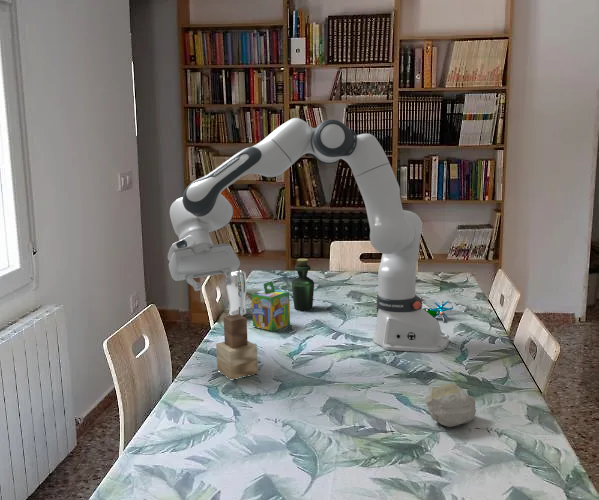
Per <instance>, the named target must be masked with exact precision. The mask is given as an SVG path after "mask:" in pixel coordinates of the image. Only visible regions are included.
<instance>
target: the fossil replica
mask: <svg viewBox="0 0 599 500" xmlns="http://www.w3.org/2000/svg"><path fill="white" fill-rule="evenodd" d="M424 400H425V404H426V406H427V408H428V411H429V416H430V418H431V419H432V420H433V421H435V422H437V423H438V424H440V425H442V426H445V427H448V428H453V427H457V426H460V425H462V424H463V425H464V424H468V423H470V422H472V421H473V419H474V417H475V416H476V412H477V409H476V400H475V398H474V397H473V396H472V395H471V396H470V395H468V394H466V393H465V391H463V390H462V389H461V387H460V386H459V385H458V384H455V383H446V384H442V385H440V386H432V387H431V388H429V389H428V392H427V394H426V395H425V399H424Z"/></svg>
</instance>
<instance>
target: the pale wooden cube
mask: <svg viewBox="0 0 599 500" xmlns="http://www.w3.org/2000/svg"><path fill="white" fill-rule="evenodd" d="M247 341H248V345H246V346H242V347H237V348H233V349H232V348H231V347H229V346H227V345H226V344H225V341H222V342H218V343H217V342H216V344H215V349H216V350H215V351H216V364H217V367H216V369H217V370H219V371H220V372H221V373H223V374H224V375H225V376H227V377H228V378H229V379H236V378H239V377H243V376H248V375H253V374H257V373H258V372H259V370H258V369H259V368H258V346H257V345H256V344H254V343H253V342H251V341H249V340H247ZM258 374H259V373H258ZM258 374H257V375H258ZM253 376H254V375H253ZM229 379H228V380H229Z"/></svg>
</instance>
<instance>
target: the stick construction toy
mask: <svg viewBox="0 0 599 500" xmlns="http://www.w3.org/2000/svg"><path fill="white" fill-rule="evenodd" d="M433 303H434V305H436V306H437V307H434V308H432V307H429V308H428V307H427V308H423V309H424V310H425V311H426V312H427V313H429V314H430V315H431V316H433V317H434V318H435V319H436V317H438V318H439V317H440V316H441V318H442V322H443V323H447V320H446V318H448V315H447V314H446V313H445V312H446V311H450V312H452V310H453V309H454V306H453V305H451V307H445V306H447V304H449V303H450V300H447V301H445V302H444V301H441V305H440V304H438V302H436V301H434V302H433ZM445 317H446V318H445Z"/></svg>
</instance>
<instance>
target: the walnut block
mask: <svg viewBox="0 0 599 500" xmlns="http://www.w3.org/2000/svg"><path fill="white" fill-rule="evenodd" d="M223 330H224V334H223V335H224V342H225V344H226V345H227V346H229V347H231V348H232V349H233V348H237V347H242V346H246V345H248V341H249V340H248V319H247V317H245V316H241V315H239V314H237V315H232V316H229V315H228V316H223Z"/></svg>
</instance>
